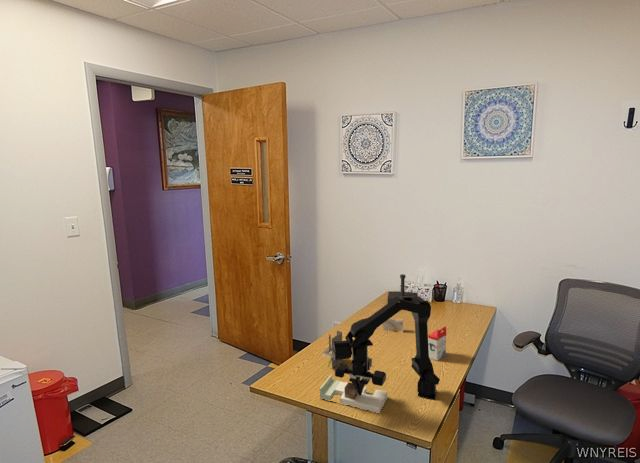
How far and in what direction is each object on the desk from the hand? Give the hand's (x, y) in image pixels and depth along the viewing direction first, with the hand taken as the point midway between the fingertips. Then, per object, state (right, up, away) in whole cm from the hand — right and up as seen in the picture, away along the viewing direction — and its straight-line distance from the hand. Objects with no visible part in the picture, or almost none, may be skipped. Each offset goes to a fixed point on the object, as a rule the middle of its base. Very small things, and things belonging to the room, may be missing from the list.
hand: (360, 394), depth 146 cm
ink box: (+40, +3, +36) cm, 54 cm away
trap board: (-2, -3, +4) cm, 6 cm away
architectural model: (-9, +1, +32) cm, 33 cm away
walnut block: (-3, -1, +2) cm, 4 cm away
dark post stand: (+39, +14, +108) cm, 116 cm away
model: (+25, +7, +66) cm, 70 cm away
